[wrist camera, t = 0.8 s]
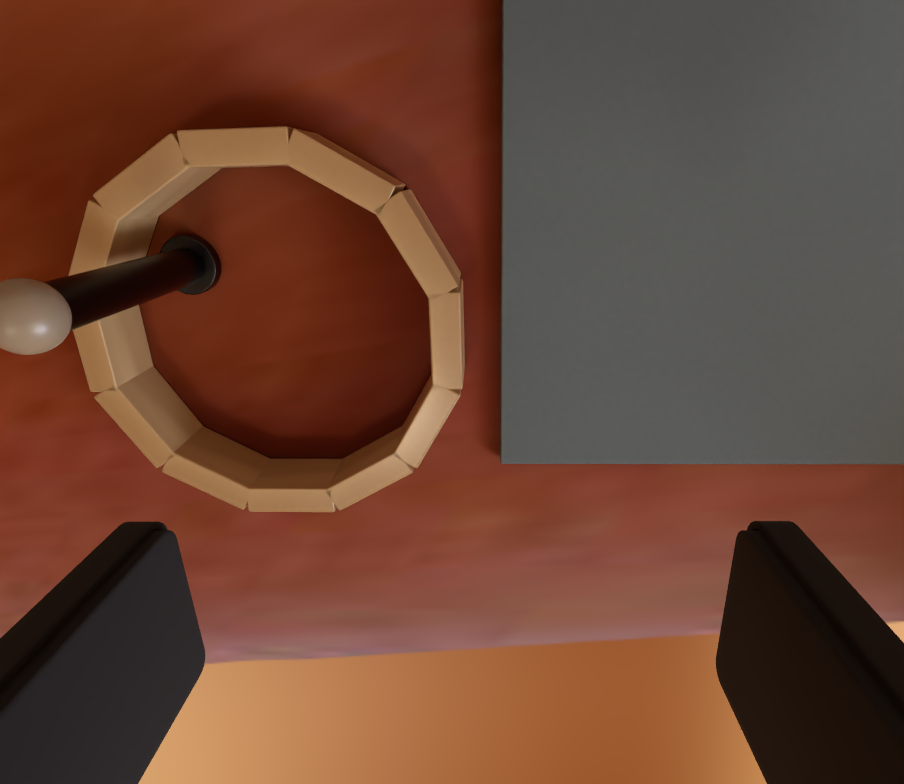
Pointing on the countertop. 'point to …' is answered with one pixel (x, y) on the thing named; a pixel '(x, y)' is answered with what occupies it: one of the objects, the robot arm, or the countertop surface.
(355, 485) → the hoop
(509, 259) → the mat
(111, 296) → the post stand
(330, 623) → the countertop surface
